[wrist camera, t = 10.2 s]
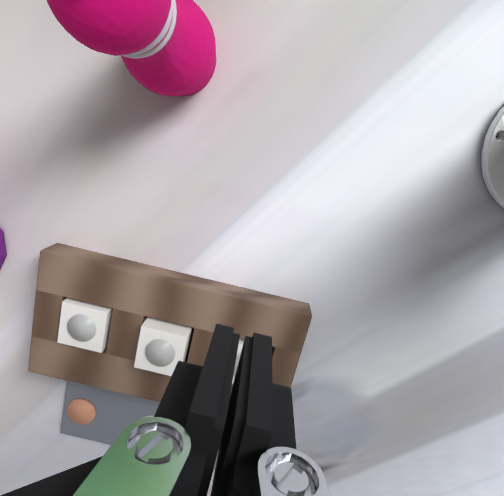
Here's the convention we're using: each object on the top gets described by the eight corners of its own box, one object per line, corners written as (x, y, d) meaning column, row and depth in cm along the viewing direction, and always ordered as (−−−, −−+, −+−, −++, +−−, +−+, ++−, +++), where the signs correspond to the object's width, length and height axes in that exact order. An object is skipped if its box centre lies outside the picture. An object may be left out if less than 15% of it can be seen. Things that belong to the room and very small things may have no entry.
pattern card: (246, 419, 43) (245, 423, 43) (232, 470, 45) (231, 474, 44) (69, 377, 43) (66, 381, 42) (62, 430, 45) (59, 433, 44)
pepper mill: (234, 34, 34) (186, -118, 14) (203, 115, 36) (122, 76, 16) (157, -3, 33) (-1, -211, 14) (129, 81, 35) (-45, -1, 16)
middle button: (193, 323, 39) (187, 338, 36) (185, 361, 40) (178, 378, 37) (150, 312, 39) (140, 326, 36) (143, 351, 40) (133, 368, 37)
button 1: (119, 300, 40) (107, 313, 37) (113, 338, 41) (100, 353, 38) (77, 290, 40) (61, 302, 37) (72, 328, 41) (56, 343, 38)
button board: (308, 303, 40) (311, 316, 37) (277, 410, 43) (277, 430, 40) (57, 243, 39) (40, 250, 36) (44, 355, 42) (28, 371, 40)
